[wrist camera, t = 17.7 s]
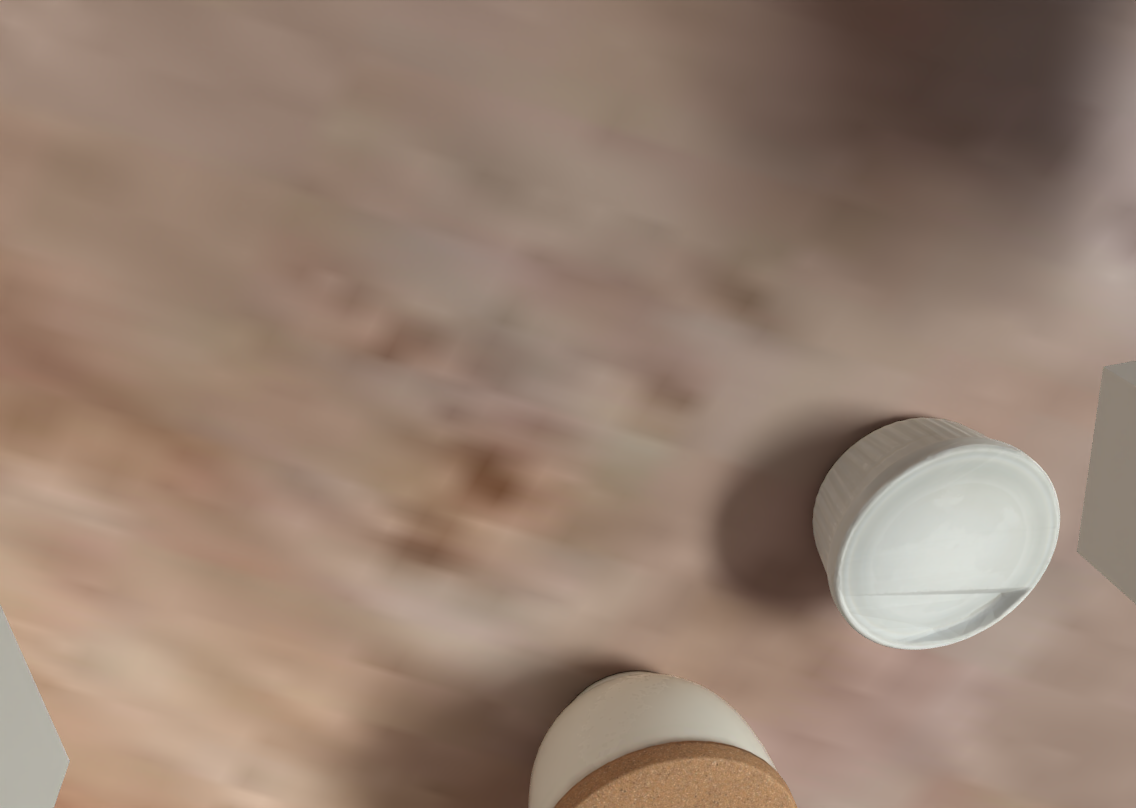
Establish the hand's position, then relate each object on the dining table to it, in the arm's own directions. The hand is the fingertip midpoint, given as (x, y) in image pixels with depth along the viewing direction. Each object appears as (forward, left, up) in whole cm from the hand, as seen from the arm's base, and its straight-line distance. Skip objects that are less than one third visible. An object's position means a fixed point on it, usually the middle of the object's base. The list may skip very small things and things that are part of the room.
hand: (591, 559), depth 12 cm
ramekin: (-20, +22, -31) cm, 43 cm away
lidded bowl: (-5, +33, -31) cm, 45 cm away
